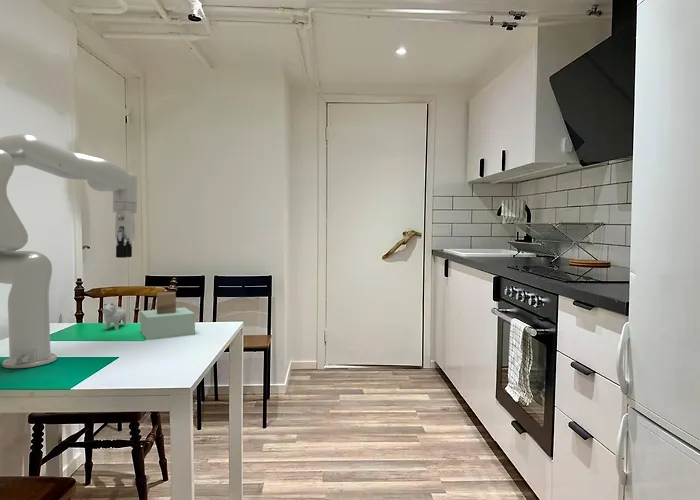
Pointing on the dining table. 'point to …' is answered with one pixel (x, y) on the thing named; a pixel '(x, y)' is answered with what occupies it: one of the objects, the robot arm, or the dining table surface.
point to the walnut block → (166, 302)
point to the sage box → (167, 323)
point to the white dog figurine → (113, 315)
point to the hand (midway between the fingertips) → (124, 257)
